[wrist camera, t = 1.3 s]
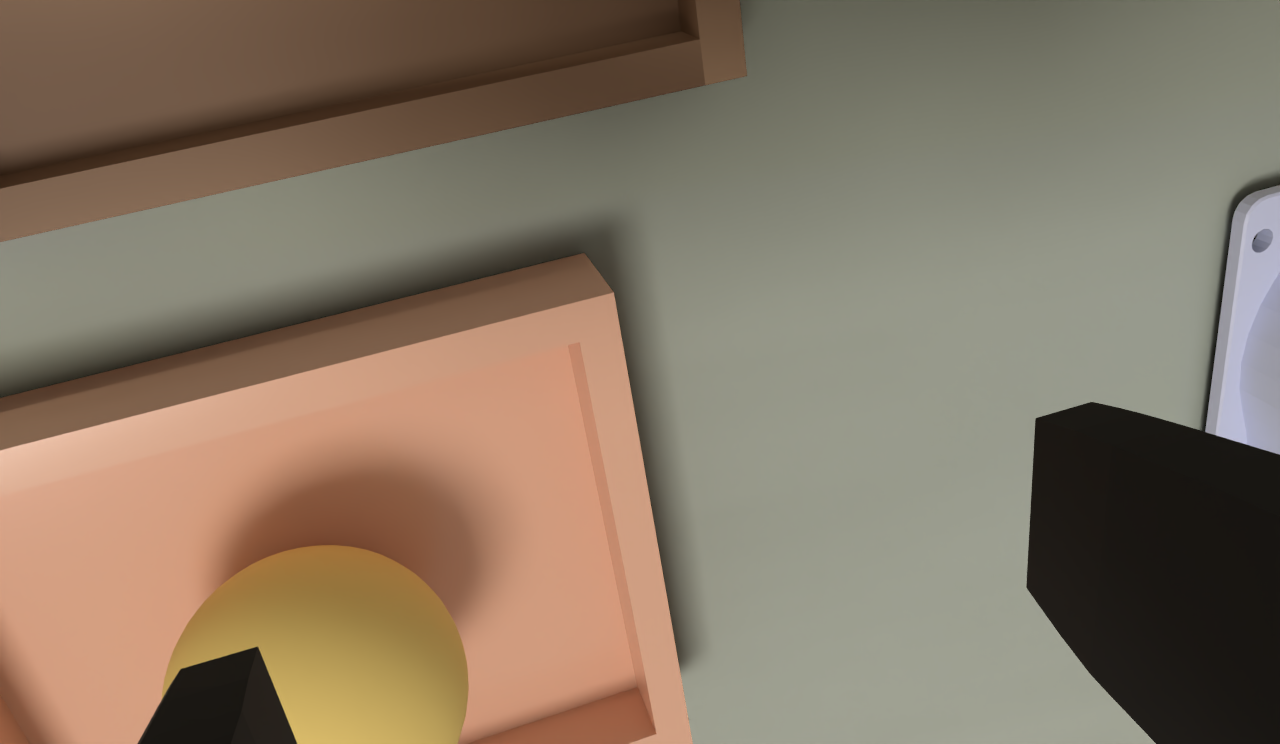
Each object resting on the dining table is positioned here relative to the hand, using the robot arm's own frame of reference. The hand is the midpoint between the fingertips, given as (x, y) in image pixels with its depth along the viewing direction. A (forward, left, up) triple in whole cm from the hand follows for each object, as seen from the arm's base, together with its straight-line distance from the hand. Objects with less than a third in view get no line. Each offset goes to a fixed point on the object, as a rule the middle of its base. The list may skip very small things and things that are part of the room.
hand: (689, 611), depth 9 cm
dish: (-6, +5, -10) cm, 12 cm away
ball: (-6, +5, -7) cm, 10 cm away
